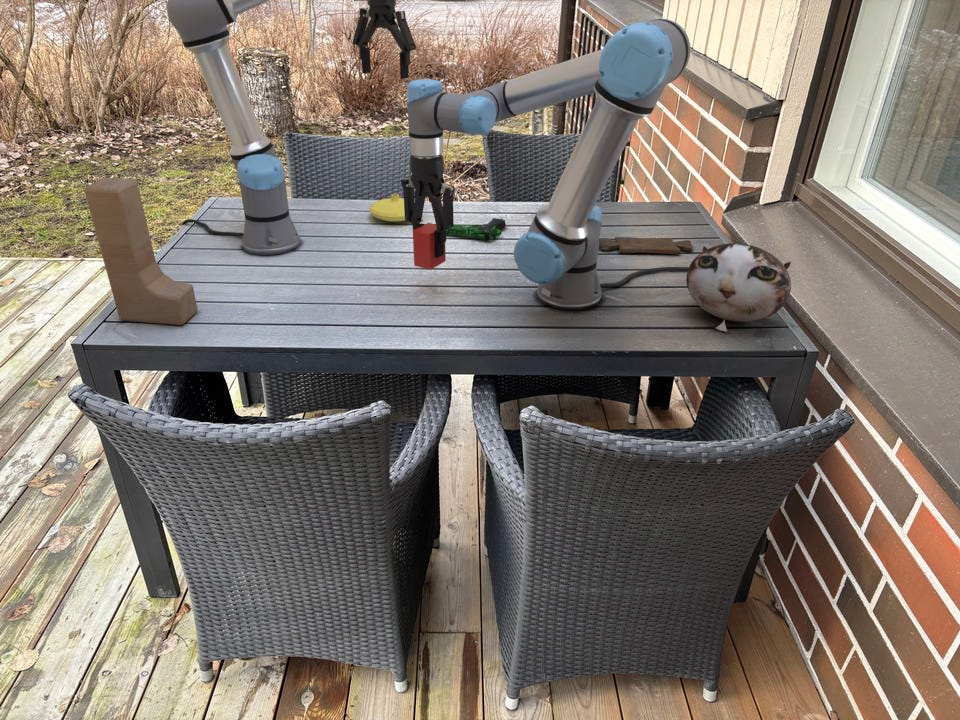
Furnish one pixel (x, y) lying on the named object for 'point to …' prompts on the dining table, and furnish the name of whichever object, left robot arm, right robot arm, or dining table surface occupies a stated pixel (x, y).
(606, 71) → the right robot arm
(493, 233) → the handgun
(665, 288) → the dining table surface
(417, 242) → the block
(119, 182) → the brown l-shaped piece
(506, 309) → the dining table surface
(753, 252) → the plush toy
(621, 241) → the dark wooden board
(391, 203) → the yellow lid
